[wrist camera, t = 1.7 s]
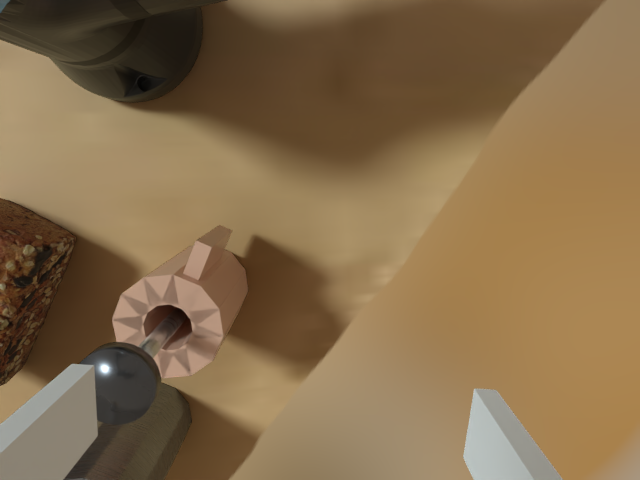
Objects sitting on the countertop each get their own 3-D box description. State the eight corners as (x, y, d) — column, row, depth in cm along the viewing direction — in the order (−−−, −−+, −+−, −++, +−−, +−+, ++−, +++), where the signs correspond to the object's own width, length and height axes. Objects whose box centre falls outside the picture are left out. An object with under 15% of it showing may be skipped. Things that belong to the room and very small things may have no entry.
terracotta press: (155, 303, 46) (99, 352, 35) (193, 206, 44) (147, 223, 32) (229, 334, 47) (199, 392, 35) (270, 239, 45) (252, 268, 33)
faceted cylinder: (97, 452, 50) (4, 574, 35) (129, 369, 48) (45, 463, 33) (166, 479, 51) (104, 609, 36) (201, 398, 49) (150, 502, 34)
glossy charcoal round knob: (142, 329, 37) (61, 406, 25) (161, 280, 36) (86, 338, 25) (194, 350, 37) (138, 436, 26) (214, 302, 36) (165, 369, 25)
